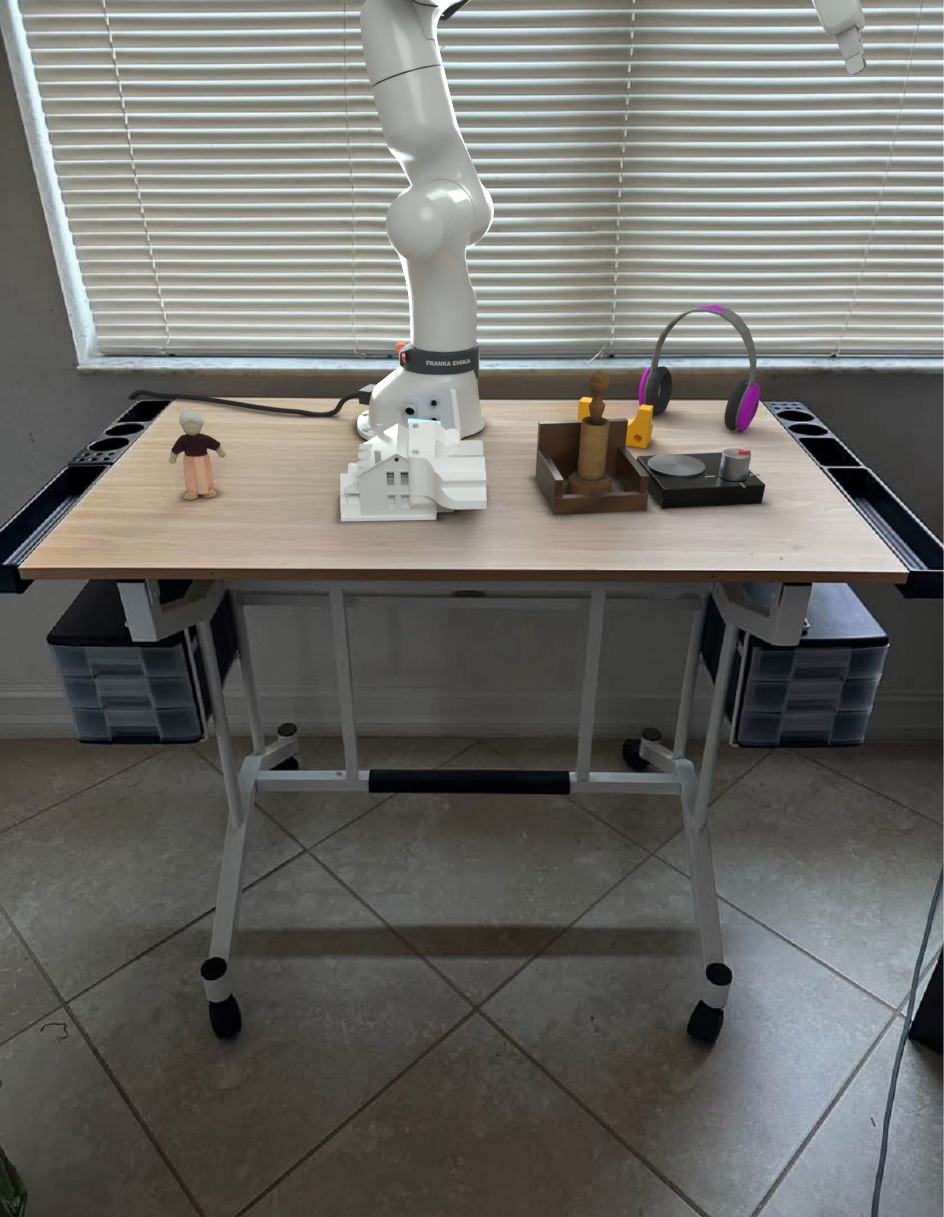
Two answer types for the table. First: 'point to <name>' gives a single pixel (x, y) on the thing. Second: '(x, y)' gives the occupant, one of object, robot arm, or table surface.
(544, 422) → the spice rack
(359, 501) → the house model
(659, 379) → the headphones
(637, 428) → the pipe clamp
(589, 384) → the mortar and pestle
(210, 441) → the grandmother figurine
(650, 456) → the hob
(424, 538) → the table surface
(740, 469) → the hob knob
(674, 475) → the burner
